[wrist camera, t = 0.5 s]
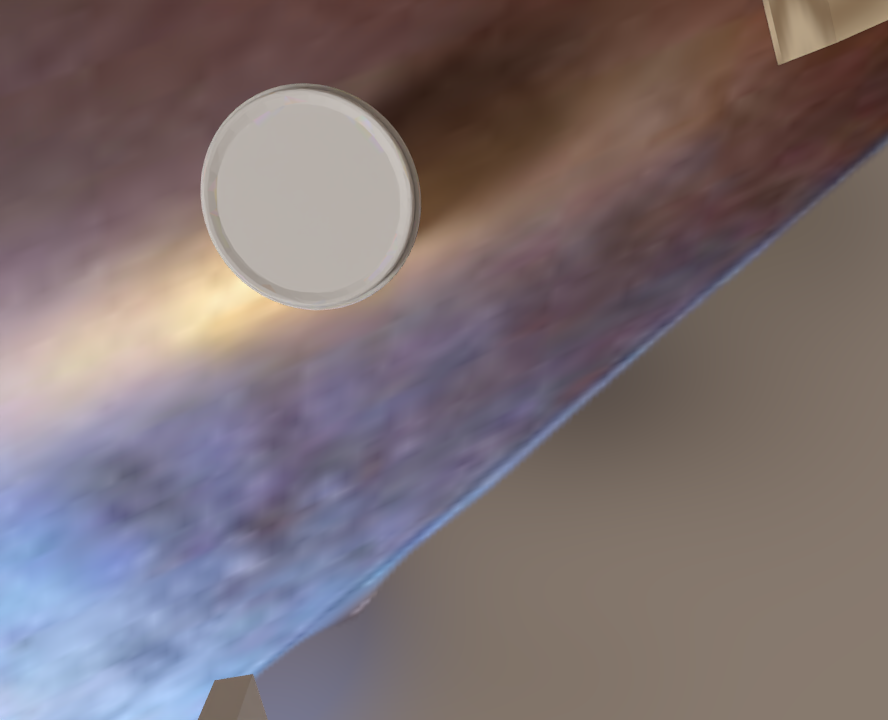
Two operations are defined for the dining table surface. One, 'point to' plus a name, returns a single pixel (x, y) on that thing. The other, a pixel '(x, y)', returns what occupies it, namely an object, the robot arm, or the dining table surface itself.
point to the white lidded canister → (310, 196)
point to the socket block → (818, 23)
